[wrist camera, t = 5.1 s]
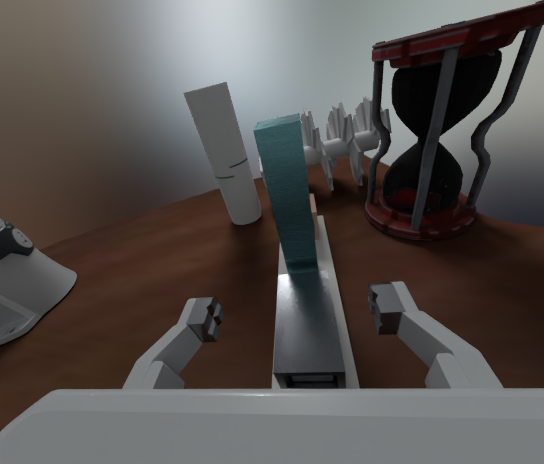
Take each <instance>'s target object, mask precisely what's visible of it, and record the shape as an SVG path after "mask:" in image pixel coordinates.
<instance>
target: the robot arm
mask: <svg viewBox="0 0 544 464" xmlns="http://www.w3.org/2000/svg"><path fill="white" fill-rule="evenodd" d="M76 278H77V275H76V273H75V272H74V271H72V270H70V269H67V268H65V267H63V266H62V265H60V264H58V263H56V262H55V261H53V260H52V259H50V258H48V257H47V256H46V255H44V254H43V253H41V252H40V251H39V250H37V249H36V248H35V247H34V245H33V244H32V243H31V241H30V240H29V239H28V238H27V237H26V236H25V235H24V234H23V233H22V232H21V231H19V230H18V229H16V228H15V227H14V226H13V225H11V224H10V223H9V222H8V221H2V220H1V219H0V345H1V344H4V343H6V342H8V341H10V340H13V339H15V338H17V337H19V336H21V335H23V334H25V333H26V332H28V331H29V330H30V329H31V328H32V327H33V326H34V325H35V324H36V323H37V322H38V320H39V319H40V318H41V317H42V316H43V315H44V314H45V313H46V312H47V311H49V310H50V309H51V308H52V307H53V306H55V305H56V304H57V303H58V302H59V301H60V300H61V299H62V298H63V297H64V296H65V295H66V294H67V293H68V292H69V291H70V289H71V288H72V287H73V285H74V283H75V281H76ZM368 289H369V292H370V293H369V294H368V304H369V308H370V311H371V314H372V315H374V324H375V327H376V330H377V333H378V335H391V334H397V336H398V337H399V338H400V339H401V340H402V341H403V342H404V343H405V344H406V345H407V346H408V347H409V348H410V349H411V350H412V351H413V352H414V353H415V354H416V355H417V356H418V357H419V358H420V359H421V360H422V361H423V362H424V363H425V364H426V365H427V366H428V367H429V368H430V370H429V372H428V374H427V377H426V379H425V381H424V382H425V385H426V387H427V389H183V387H184V384H185V383H184V381H183V380H182V379H181V378H180V377H179V376H178V375H179V374H180V372H181V371H182V370H183V368H184V367H185V366H186V364H187V363H188V362H189V361H190V359H191V358H192V357H193V355H194V354H195V353H196V351H197V350H198V349H199V347H200V346H201V345H202V343H204V342H217V339H218V335H219V331H220V329H219V327H218V326H219V325H220V324H221V323H222V320H223V309H222V307H221V305H219V304H217V303H218V300H217V298H216V297H208V298H191V299H189V300H188V301H187V303H186V305H185V308H184V310H183V312H182V314H181V317H180V319H179V321H178V323H177V325H175V326H173V327H172V328H171V329H170V330H169V331H168V332H167V333H166V334H165V335H164V336H163V337H162V338H161V339H159V340H158V341H157V342H156V343H155V344H154V345H153V346H152V347H151V348H150V349H149V350H148V351H147V352H146V353H145V354H143V355H142V356H141V357H140V358H139V359H138V360H137V361H136V363H135V365H134V367H133V369H132V371H131V373H130V375H129V377H128V379H127V380H126V382H125V384H124V386H123V388H122V389H59V390H55V391H52V392H50V393H49V394H47V395H46V396H44V397H43V398H41V399H40V400H39V401H37V402H36V403H35V404H33V405H32V406H31V407H29V408H28V409H27V410H26V411H24V412H23V413H22V414H21V415H19V416H18V417H17V418H15V419H14V420H13V421H12V422H10V423H9V424H8V425H7V426H6V427H5V428H4V429H3V430H2V431H1V432H0V464H544V388H503V386H502V385H501V383H500V382H499V380H498V379H497V377H496V376H495V374H494V373H493V371H492V370H491V368H490V367H489V365H488V364H487V362H486V360H485V359H484V357H483V356H482V354H481V353H480V351H478V350H477V349H475V348H474V347H472V346H471V345H470V344H468V343H467V342H465V341H464V340H463V339H461V338H460V337H458V336H457V335H456V334H454V333H453V332H451V331H450V330H449V329H447V328H446V327H444V326H443V325H442V324H440V323H439V322H437V321H436V320H435V319H433V318H432V317H430V316H429V315H427V314H426V313H425V312H423V311H419V310H418V308H417V306H416V304H415V302H414V301H413V299H412V297H411V295H410V293H409V291H408V289H407V287H406V285H405V284H404V283H403V282H387V283H376V284H369V288H368Z"/></svg>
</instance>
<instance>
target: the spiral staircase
mask: <svg viewBox="0 0 544 464" xmlns="http://www.w3.org/2000/svg"><path fill="white" fill-rule="evenodd" d="M332 108H333V112H332V111H331V112H330V114H329V117H328V121H329V124H327V141H325V142H321V140H320V134H319V129H318V128H316V129H315V127H314V123H313V119H312V115H311V111H309V112H307V110H306V109H304V114H302V115H301V121H302V123H301V130H302V138H303V146H304V154H305V163H306V169H307V170H309V167H308V165H313V164H317V163H321V164H322V166H323V169H324V172H325V175H326V179H327V183H328V187H329V189H330V190H331V191H333V190H334V188H333V179H332V170H333V168H336V160H337V158H341V157H345V156H349V155H350V164H351V168H352V175H353V177H354V179H355V183H356V184H357V185H359V186H363V183H362V176H363V175H364V172H363V169H362V165H361V162H362V161H364V151H369V150H373V149H377V148H378V145H379V140H380V139H381V138H380V132H379V131H378V130H377V129H376V128H375V126H374V124H373V121H372V100H371V99H369V98H367V97H363V103H360V104H359V106H358V107H357V108H356V115H354V118H353V122H352V117H351V114H349V115H348V116H346V113H345V111H344V108H343V105H342V103H339V107H337V106H335V105H333V106H332ZM304 116H305V117H304ZM380 117H381V120H382V123H383V125H384V126H385V127H386V128H387V129H388V130H389V133H391V125H390V118H389V110H388V109H385V110H384V111H383V110H382V108H381V110H380ZM275 118H278V117H277V116H276V117H275ZM259 157H260V156H259ZM259 165H260V173H261V176H262V178H263V181H264V184H265V186H266V187H267V185H266V181H265V177H264V172H263V168H262V164H261V160H260V159H259Z"/></svg>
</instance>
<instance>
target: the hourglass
mask: <svg viewBox="0 0 544 464" xmlns="http://www.w3.org/2000/svg"><path fill="white" fill-rule="evenodd" d="M542 25H544V0H542V1H539V2H536V3H535V4H533V5H528V6H524V7H520V8H517V9H512V10H508V11H504V12H500V13H496V14H493V15H489V16H484V17H481V18H477V19H473V20H469V21H462V22H458V23H454V24H448V25H444V26H441V28H437V29H434V30H430V31H426V32H422V33H418V34H415V35H410V36H407V37H403V38H399V39H395V40H391V41H388V42H385V41H384V42H379V43H376V44H375V45H373V46H372V47H373V50H372V61H373V62H374V81H373V99H372V121H373V124H374V126H375V128H376V129H377V130H378V131H379V132H380V138H381V145H380V149H379V152H378V153H377V154H376V155H375V156H374V157H373V158H372V160H371V162H370V165H369V179H368V199H367V200H366V202H365V216H366V217H367V219H368V220H369V222H370V223H371V224H372V225H374V226H375V227H377V228H378V229H379V230H381V231H383V232H386V233H388V234H391V235H393V236H397V237H402V238H406V239H411V240H439V239H446V238H452V237H454V236H456V235H459V234H461V233H464V232H466V230H467V229H468V228H469V227H470V226H471V225H472V224H473V222H474V220H475V217H476V206H475V203H476V200H477V198H478V195H479V193H480V190H481V187H482V185H483V182H484V179H485V177H486V174H487V171H488V169H489V166H490V163H491V162H490V155H489V153H488V152H487V151H486V149H485V148H484V140H485V135H486V133H487V131H488V129H489V128H490V126H491V124H492V123H493V122H495V121H496V120H497V119H498V118H500V117H501V116H502V115H504V114H505V112H506V111H507V110H508V108H509V107H510V106H511V105H512V104H513V102H514V100H515V97H516V95H517V92H518V89H519V87H520V84H521V81H522V79H523V76H524V73H525V70H526V68H527V65H528V63H529V60H530V57H531V55H532V52H533V49H534V47H535V44H536V41H537V39H538V36H539V33H540V30H541V28H542ZM523 30H526V32H525V34H524V37H523V40H522V43H521V46H520V49H519V52H518V54H517V58H516V60H515V63H514V66H513V69H512V72H511V74H510V77H509V80H508V83H507V86H506V89H505V92H504V94H503V97H502V101H501V102H500V104H499V105H498V106H497V107H496V109H495V110H494V111H493V113H492V114H491V115H489V116H488V117H487V118H486V119H484V120H483V121H482V122H480V123H479V125H478V126H477V128H476V129H475V131H474V133H473V134H472V136H471V149H472V150H473V151H474V152H475V153H476V155H477V156H478V161H479V166H478V169H477V172H476V175H475V178H474V181H473V184H472V187H471V190H470V192H469V196H468V197H467V196H465V195H464V194H462V193H460V190H461V185H462V178H463V174H462V170H461V167H460V165H459V164H458V162H457V161H456V160H455V159H454V157H453V156H452V155H451V153H449V152H448V150H447V149H446V148H445V147H444V146H443V145H442V144H441V143H440V142H439V137H440V136H441V135H442V134H444V133H445V132H446V131H447V130H449V129H451V128H452V127H453V126H454V125H456V124H457V123H458V122H460V121H461V120H462V119H464V118H465V117H466V116H467V115H468V114H470V113H471V112H472V111H473V110H474V109H475V108H476V107H477V106H478V105H479V104H480V103H481V102H482V101H483V99H484V98H485V97H486V96H487V94H488V93H489V92H490V90H491V88H492V85H493V83H494V81H495V79H496V77H497V74H498V71H499V68H500V65H501V61H502V53H501V51H499V49H500V48H503V47H505V46H508V45H510V44H511V43H513V41H514V39H515V38H516V36H517V34H518V33H519V32H520V31H523ZM384 60H389V61H390V66H391V67H392V68H399V69H398V70H397V71H396V72H395V73H394V77H393V81H392V104H393V106H394V109H395V111H396V114H397V116H398V117H399V118H400V119H401V121H402V122H403V123H404V124H405V125H406V126H407V127H408V128H409V129H410V130H411V131H412V132H413V133H414V134H415V135H416V136H417V137H418V142H417V143H416V144H415V145H413V146H412V147H411V148H410V149H408V150H407V151H406V152H405V153H403V154H402V155H401V156H400V157H399V158H398V159H397V160H396V161H395V162H393V164H392V165H391V167H390V168H389V170H388V171H387V173H386V174H385V177H384V181H383V188H382V189H379V190H377V191H375V181H376V167H377V164H378V162H379V161H380V159H381V157H383V156H384V155H385V154H386V153H387V151H388V149H389V146H390V143H391V139H390V133H389V130H388V129H387V128H386V127H385V126H384V125H383V123H382V120H381V117H380V110H381V94H382V93H381V92H382V80H383V65H384V64H383V63H384Z"/></svg>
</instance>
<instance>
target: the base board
mask: <svg viewBox="0 0 544 464" xmlns="http://www.w3.org/2000/svg"><path fill="white" fill-rule="evenodd" d="M317 219H318V229H319V238H320V239H318V240H315V245H316V253H317V261H318V269H319V271H326V270H327V272H328V277H329V283H330V289H331V294H332V300H333V305H334V311H335V316H336V322H337V328H338V333H339V339H340V344H341V350H342V355H343V361H344V367H345V374H346V389H360V387H359V382H358V377H357V373H356V368H355V363H354V359H353V354H352V350H351V345H350V340H349V336H348V331H347V326H346V322H345V317H344V312H343V308H342V303H341V298H340V294H339V289H338V284H337V280H336V275H335V270H334V266H333V261H332V256H331V252H330V247H329V242H328V238H327V233H326V228H325V224H324V219H323V215H322V216H317ZM284 274H288V272H287V268H286V264H285V259H284V255H283V251H282V247H281V243H280V252H279V270H278V275H284ZM277 293H278V287H277ZM276 311H277V305H276ZM275 329H276V322H275ZM274 347H275V340H274ZM273 365H274V357H273ZM272 389H281V388H280V386H279V384H278V382H277V380H276V378H275V376H274V374H273V375H272Z"/></svg>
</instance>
